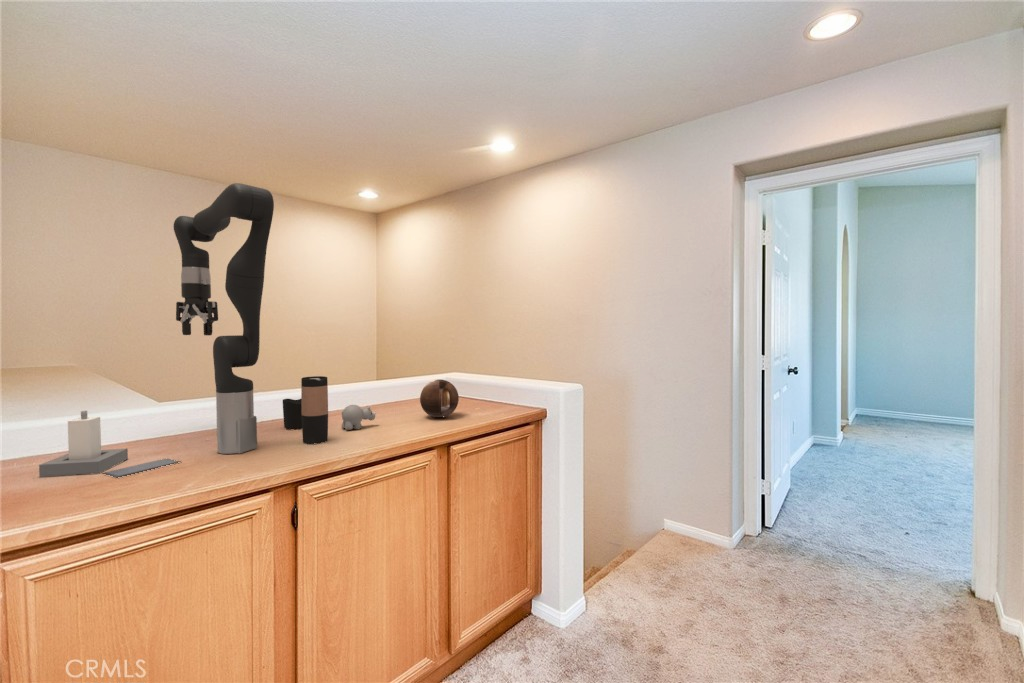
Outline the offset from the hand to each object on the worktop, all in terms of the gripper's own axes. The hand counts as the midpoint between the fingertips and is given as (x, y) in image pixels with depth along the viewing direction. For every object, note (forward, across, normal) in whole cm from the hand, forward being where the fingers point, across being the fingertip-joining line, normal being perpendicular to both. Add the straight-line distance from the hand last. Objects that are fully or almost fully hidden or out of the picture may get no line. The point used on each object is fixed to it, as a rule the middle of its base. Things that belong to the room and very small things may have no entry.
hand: (197, 335), depth 142 cm
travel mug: (+33, +35, +10) cm, 49 cm away
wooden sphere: (+33, +56, +55) cm, 85 cm away
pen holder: (+33, +15, +25) cm, 44 cm away
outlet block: (+33, -2, -29) cm, 44 cm away
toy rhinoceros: (+33, +37, +30) cm, 58 cm away
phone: (+34, +12, -25) cm, 44 cm away
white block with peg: (+33, -2, -29) cm, 44 cm away
